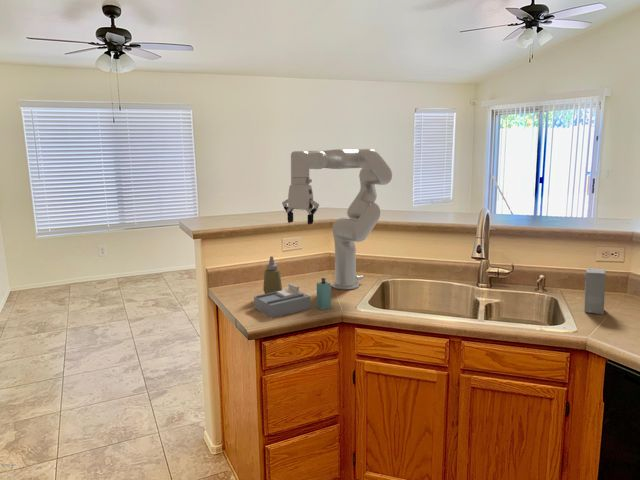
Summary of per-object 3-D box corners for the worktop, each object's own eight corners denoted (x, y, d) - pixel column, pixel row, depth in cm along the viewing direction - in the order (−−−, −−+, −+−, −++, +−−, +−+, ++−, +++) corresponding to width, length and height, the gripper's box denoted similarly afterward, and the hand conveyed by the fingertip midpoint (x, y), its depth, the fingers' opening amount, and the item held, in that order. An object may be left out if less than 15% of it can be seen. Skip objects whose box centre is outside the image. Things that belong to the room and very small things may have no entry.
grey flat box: (292, 299, 197) (292, 286, 196) (310, 308, 186) (310, 294, 185) (254, 308, 187) (253, 294, 186) (271, 318, 176) (270, 303, 175)
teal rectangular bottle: (325, 304, 190) (324, 276, 188) (330, 307, 187) (330, 278, 184) (317, 306, 188) (316, 278, 185) (322, 309, 184) (322, 280, 182)
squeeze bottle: (279, 300, 196) (277, 259, 193) (261, 299, 198) (259, 258, 194) (284, 294, 204) (283, 254, 201) (267, 293, 206) (265, 254, 202)
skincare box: (603, 315, 173) (607, 274, 170) (581, 312, 177) (585, 271, 174) (604, 308, 180) (608, 269, 177) (582, 305, 184) (586, 267, 181)
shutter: (291, 290, 192) (291, 282, 191) (300, 294, 186) (300, 286, 186) (276, 293, 188) (276, 285, 187) (285, 298, 182) (285, 289, 182)
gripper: (323, 182, 189) (322, 223, 192) (287, 180, 198) (288, 220, 201) (313, 182, 183) (313, 225, 186) (277, 181, 191) (278, 222, 194)
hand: (300, 223), depth 193 cm, fingers open, 9 cm apart
